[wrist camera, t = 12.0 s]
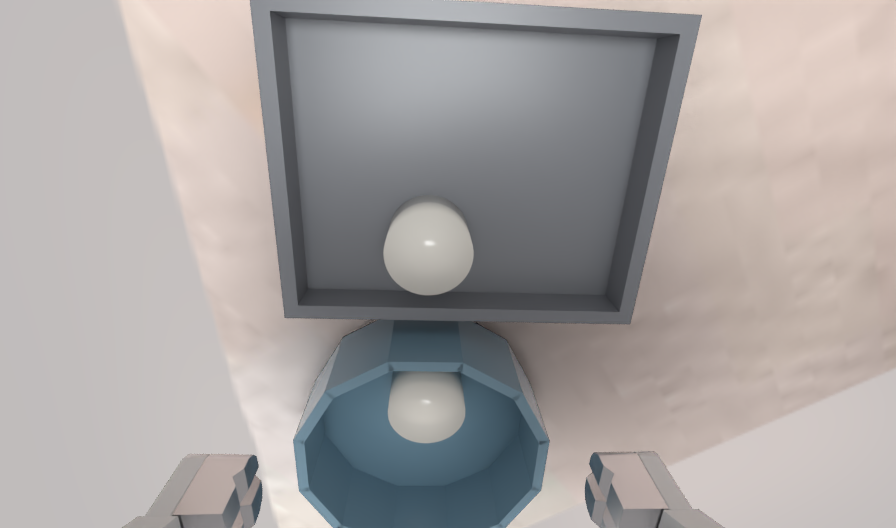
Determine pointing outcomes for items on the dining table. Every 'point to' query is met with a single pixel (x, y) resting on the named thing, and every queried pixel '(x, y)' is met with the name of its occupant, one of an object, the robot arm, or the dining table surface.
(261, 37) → the tray
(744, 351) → the dining table surface
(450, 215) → the stone
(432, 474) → the bowl
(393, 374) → the stone
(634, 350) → the dining table surface
